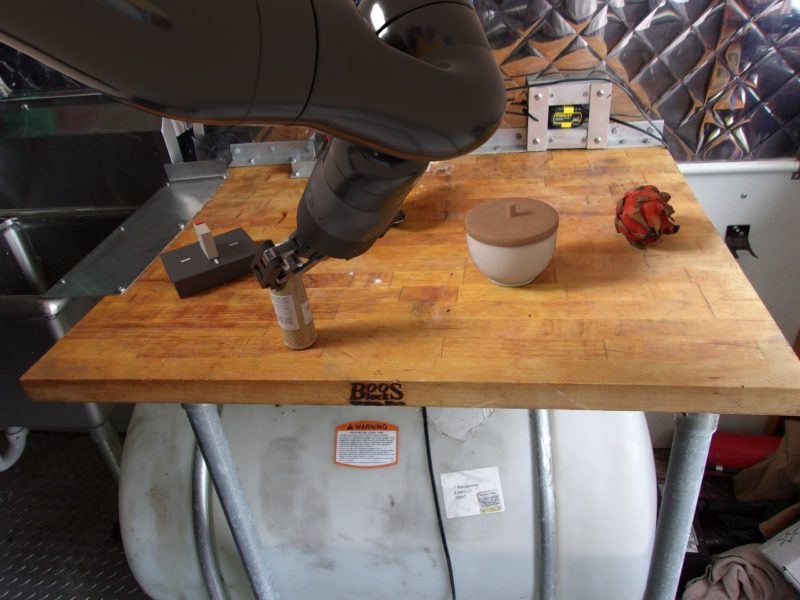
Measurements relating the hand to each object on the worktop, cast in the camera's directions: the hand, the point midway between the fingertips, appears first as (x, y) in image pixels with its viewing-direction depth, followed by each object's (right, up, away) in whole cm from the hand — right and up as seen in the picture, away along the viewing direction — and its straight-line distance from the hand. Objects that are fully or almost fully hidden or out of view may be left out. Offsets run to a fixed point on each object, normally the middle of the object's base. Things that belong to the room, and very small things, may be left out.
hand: (310, 267), depth 62 cm
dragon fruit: (+46, +6, +26) cm, 53 cm away
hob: (-21, +2, +33) cm, 39 cm away
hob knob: (-21, +4, +31) cm, 38 cm away
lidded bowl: (+26, 0, +22) cm, 34 cm away
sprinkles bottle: (-3, -9, +14) cm, 17 cm away
